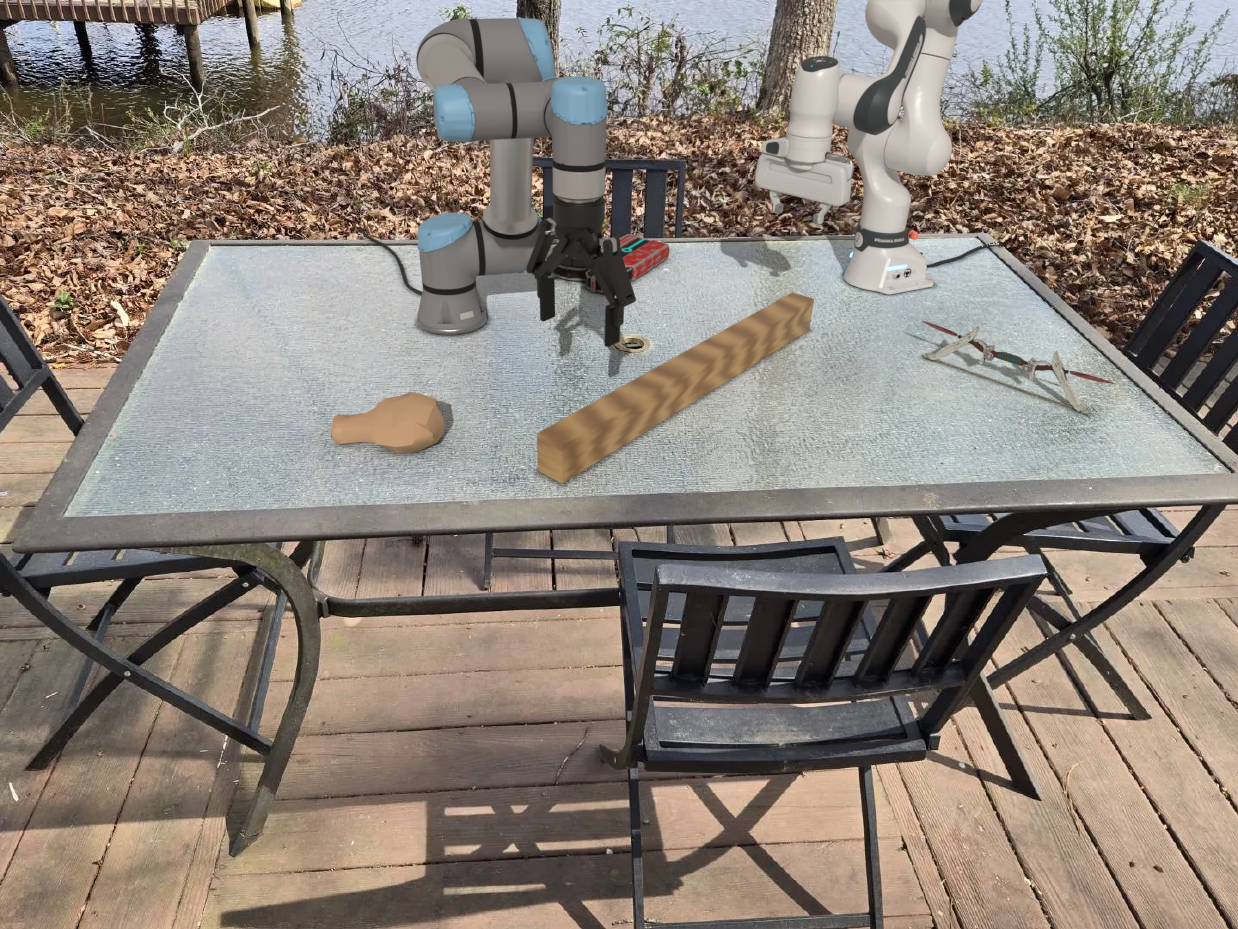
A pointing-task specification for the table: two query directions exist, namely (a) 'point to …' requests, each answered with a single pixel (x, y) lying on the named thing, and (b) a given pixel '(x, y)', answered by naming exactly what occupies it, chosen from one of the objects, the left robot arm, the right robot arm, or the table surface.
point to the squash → (393, 424)
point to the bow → (1026, 366)
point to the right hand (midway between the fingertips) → (797, 217)
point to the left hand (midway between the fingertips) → (579, 331)
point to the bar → (668, 388)
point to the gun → (635, 256)
